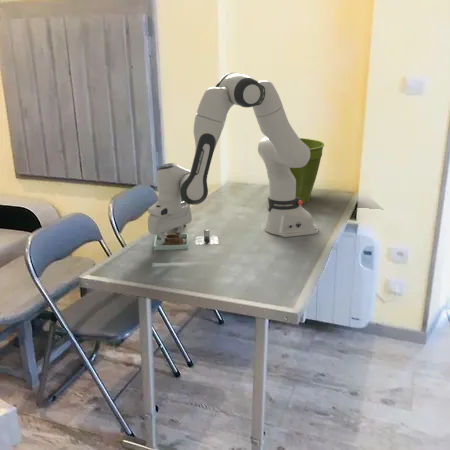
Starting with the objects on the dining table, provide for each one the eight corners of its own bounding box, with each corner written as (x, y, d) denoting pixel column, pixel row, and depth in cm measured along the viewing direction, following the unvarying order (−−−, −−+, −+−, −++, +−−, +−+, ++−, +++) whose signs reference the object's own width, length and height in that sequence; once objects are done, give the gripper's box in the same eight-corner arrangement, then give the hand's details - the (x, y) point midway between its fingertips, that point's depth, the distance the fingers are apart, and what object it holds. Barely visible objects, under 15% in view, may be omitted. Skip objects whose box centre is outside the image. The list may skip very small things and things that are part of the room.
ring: (161, 243, 207) (160, 236, 206) (172, 239, 211) (171, 232, 210) (176, 249, 201) (175, 241, 200) (187, 244, 206) (187, 237, 205)
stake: (217, 237, 214) (217, 226, 213) (218, 246, 206) (218, 233, 204) (195, 238, 214) (195, 226, 212) (195, 246, 206) (195, 234, 204)
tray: (188, 238, 214) (188, 233, 213) (188, 251, 202) (188, 245, 201) (156, 239, 213) (155, 234, 212) (153, 252, 201) (153, 246, 200)
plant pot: (253, 205, 256) (254, 146, 247) (272, 189, 282) (273, 136, 273) (313, 211, 246) (316, 150, 236) (327, 194, 272) (330, 139, 262)
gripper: (183, 198, 211) (184, 230, 216) (144, 210, 197) (146, 244, 201) (194, 200, 207) (195, 233, 212) (155, 213, 193) (157, 248, 197)
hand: (171, 239), depth 207 cm, fingers open, 6 cm apart
